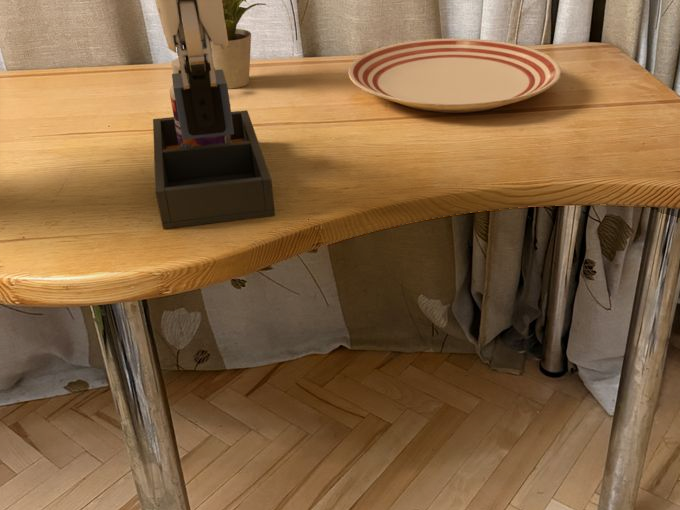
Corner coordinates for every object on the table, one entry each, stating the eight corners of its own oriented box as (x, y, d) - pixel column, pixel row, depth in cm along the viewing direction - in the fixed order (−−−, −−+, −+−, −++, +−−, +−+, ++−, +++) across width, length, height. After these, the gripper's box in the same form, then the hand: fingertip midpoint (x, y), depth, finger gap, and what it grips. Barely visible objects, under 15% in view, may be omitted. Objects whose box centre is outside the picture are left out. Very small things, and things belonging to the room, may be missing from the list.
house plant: (208, 62, 110) (190, -63, 100) (296, 69, 106) (286, -60, 97) (159, 91, 99) (133, -46, 89) (255, 99, 95) (239, -42, 86)
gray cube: (182, 140, 65) (173, 88, 62) (180, 123, 69) (171, 73, 66) (234, 134, 66) (227, 83, 63) (229, 118, 69) (222, 69, 67)
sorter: (163, 229, 66) (155, 192, 64) (159, 151, 82) (152, 118, 79) (275, 215, 68) (271, 179, 66) (251, 141, 84) (247, 110, 81)
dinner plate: (509, 141, 83) (512, 112, 81) (308, 103, 94) (306, 77, 92) (585, 77, 102) (589, 52, 100) (411, 52, 113) (411, 29, 111)
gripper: (226, -107, 50) (258, 152, 61) (209, -125, 63) (238, 91, 74) (112, -102, 49) (165, 162, 60) (118, -121, 62) (161, 98, 73)
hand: (205, 120), depth 67 cm, fingers closed on gray cube, 4 cm apart
